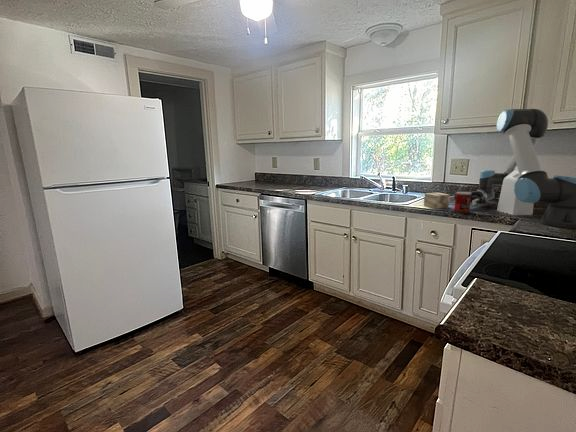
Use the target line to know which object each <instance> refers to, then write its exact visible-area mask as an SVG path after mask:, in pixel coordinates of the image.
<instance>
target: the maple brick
mask: <svg viewBox="0 0 576 432" xmlns="http://www.w3.org/2000/svg"><path fill="white" fill-rule="evenodd" d="M450 195H451V194H447V193H442V192H424V198H423V206H424V207H428V208H432V209H447V208H449V207H450V201H449V202H448V197H450Z"/></svg>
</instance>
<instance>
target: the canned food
mask: <svg viewBox="0 0 576 432" xmlns="http://www.w3.org/2000/svg"><path fill="white" fill-rule="evenodd" d="M455 195H456V199H455V200H454V209H453V210H454V212H456V213H461V214H462V213H464V214H467V213H470V208H471V192H469V191H456V193H455Z"/></svg>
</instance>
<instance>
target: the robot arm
mask: <svg viewBox="0 0 576 432" xmlns="http://www.w3.org/2000/svg"><path fill="white" fill-rule="evenodd" d="M499 114H500V115H499V116H498V118H497V122H496V131H497V132H499V133H503V136H504V138H506V140H507V139H508V140H509V143H510V147H511V150H512V153H513V155H512V157H511V159H510V161H509V163H508V164H507V167H506V169H505V171H504V172H501V173H500V172H496V170H494V169H482V170H481V171H480V175H479V180H478V183H479V184H478V189H477V190H475V191H471V192H470V193H471V202H470V204H471V206H475V205H479V204H480V205H481V204H483V205H486V203H487V202H489V201H491V200H492V199H494V198H495V192H494V189H493V188H494V186H502V184H503V180H504V178H505V177H506V176H508V175H509V174H510V173H512V172H513V171H514V169H515V168H516V166H517V167H518V171H519V174H520V176H519V177H518V179H517V181H516V183H515V185H514V187H515V188H514V192H515V195H516V197H517V198H518V199H519V200H520V201H522V202H527V203H534V204H548V205H547V208H546V210H545V212H544V213H543V214H542V216H541V219H540V223H541V224H543V225H546V226H549V227H550V226H552V227H556V228H562V229H563V228H564V229H576V177H574V176H573V177H572V176H566V175H558V174H555V175H554V176H553V177H551V178H550V177H549V176H548V173H547V171H545V170H542V167H541V165H540V162H539V159H538V156H537V153H536V150H535V147H536V146H537V144H538V142H539V141H540V139H542V138H544V136H545V134H546V132H547V131H548V127H549V119H548V116H547V114H546V113H545V112H544V111H543V110H541V109H537V108H511V109H505V110H503V111H501V113H499ZM449 195H450V197H448V202H449V203H450V202H455V199H456V194H449Z"/></svg>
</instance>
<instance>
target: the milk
mask: <svg viewBox="0 0 576 432" xmlns="http://www.w3.org/2000/svg"><path fill="white" fill-rule="evenodd" d="M519 176H520V174H519V171H518V167H517V166H516V168H515V169H514V171H513V172H512V173H510V174H509V175H508V176H506V177H505V178H504V180H503V184H502V185H501V189H500V195H499V199H498V204H497V207H496V208H497V209H496V211H497V212H500V213H503V212H504V213H503V214H506V213H508V214H507V215H510V214H511V215H510V216H532V215H533V213H534V205H535V203H527V202H522V201H520V200H519V199H518V198H517V197H516V195H515V192H514V188H515V187H514V185H515V183H516V181H517V179H518V177H519Z"/></svg>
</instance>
